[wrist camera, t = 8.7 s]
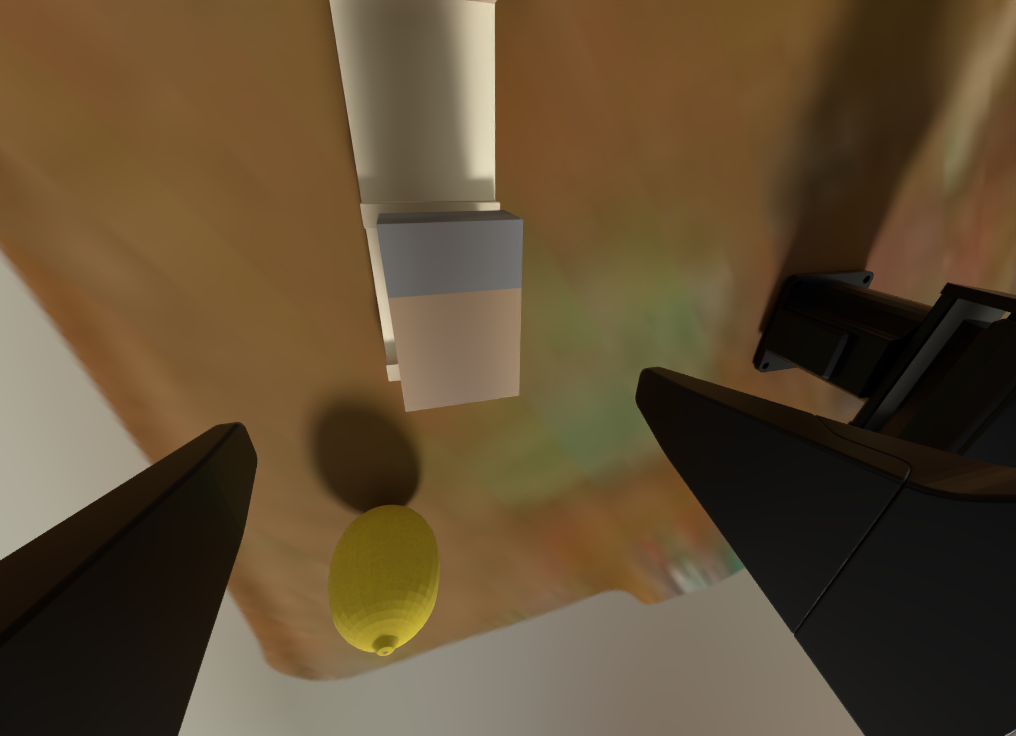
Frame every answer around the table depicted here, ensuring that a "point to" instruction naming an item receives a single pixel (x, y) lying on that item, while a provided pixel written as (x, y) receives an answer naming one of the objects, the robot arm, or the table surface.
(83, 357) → the table surface
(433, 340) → the gray and beige block
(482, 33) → the rail
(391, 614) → the lemon
